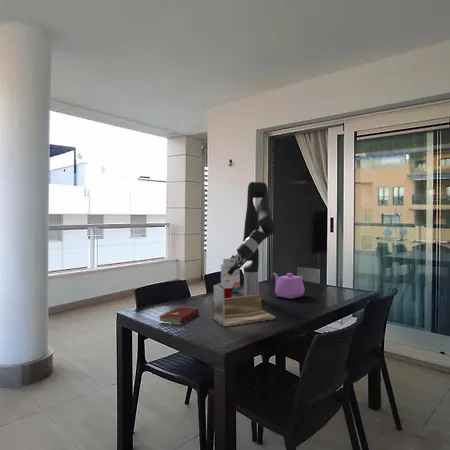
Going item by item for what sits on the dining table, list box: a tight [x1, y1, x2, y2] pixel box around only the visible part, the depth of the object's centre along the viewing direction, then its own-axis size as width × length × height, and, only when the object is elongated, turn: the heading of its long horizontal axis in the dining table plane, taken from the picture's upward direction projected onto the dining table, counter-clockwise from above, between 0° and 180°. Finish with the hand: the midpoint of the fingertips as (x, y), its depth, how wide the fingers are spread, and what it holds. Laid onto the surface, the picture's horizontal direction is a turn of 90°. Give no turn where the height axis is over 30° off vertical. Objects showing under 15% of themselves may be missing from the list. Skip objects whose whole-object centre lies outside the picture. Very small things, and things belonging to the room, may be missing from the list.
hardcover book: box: [158, 306, 200, 324], centre depth 187 cm, size 12×21×4 cm, turn 159°
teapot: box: [272, 272, 306, 300], centre depth 237 cm, size 23×21×15 cm
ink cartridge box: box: [220, 257, 241, 289], centre depth 182 cm, size 9×5×15 cm, turn 105°
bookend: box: [213, 284, 225, 322], centre depth 180 cm, size 12×1×16 cm, turn 22°
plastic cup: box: [216, 282, 233, 299], centre depth 217 cm, size 11×11×12 cm
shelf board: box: [211, 294, 276, 327], centre depth 185 cm, size 16×28×10 cm, turn 112°
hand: (226, 273), depth 181 cm, fingers closed on ink cartridge box, 5 cm apart
